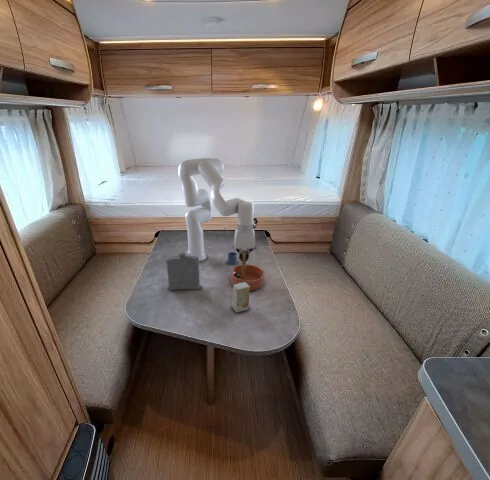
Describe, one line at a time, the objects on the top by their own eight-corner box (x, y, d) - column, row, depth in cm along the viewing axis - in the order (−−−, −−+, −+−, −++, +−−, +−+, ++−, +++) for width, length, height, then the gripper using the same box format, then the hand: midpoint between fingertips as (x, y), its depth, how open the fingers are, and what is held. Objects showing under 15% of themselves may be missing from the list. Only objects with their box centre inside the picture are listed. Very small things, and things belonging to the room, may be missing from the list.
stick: (241, 278, 141) (242, 251, 135) (241, 276, 143) (242, 249, 136) (245, 278, 141) (246, 251, 135) (244, 276, 143) (245, 249, 136)
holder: (228, 265, 159) (228, 256, 157) (227, 260, 164) (227, 252, 162) (237, 264, 159) (237, 255, 157) (236, 260, 164) (236, 251, 162)
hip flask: (168, 290, 136) (165, 255, 128) (169, 285, 139) (166, 251, 131) (199, 289, 136) (198, 254, 128) (199, 284, 140) (198, 250, 132)
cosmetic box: (236, 313, 118) (237, 289, 113) (232, 307, 122) (232, 284, 117) (249, 309, 120) (250, 286, 116) (244, 303, 124) (245, 281, 119)
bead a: (239, 280, 143) (234, 279, 142) (238, 277, 145) (233, 276, 145) (241, 276, 141) (235, 275, 141) (240, 272, 144) (234, 271, 143)
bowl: (232, 291, 133) (232, 281, 131) (229, 274, 149) (229, 264, 147) (266, 291, 133) (267, 280, 131) (260, 273, 149) (260, 264, 147)
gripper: (259, 223, 134) (257, 256, 141) (228, 224, 134) (227, 257, 141) (262, 229, 127) (260, 263, 134) (229, 229, 127) (229, 263, 134)
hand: (243, 259), depth 138 cm, fingers closed on stick, 2 cm apart
